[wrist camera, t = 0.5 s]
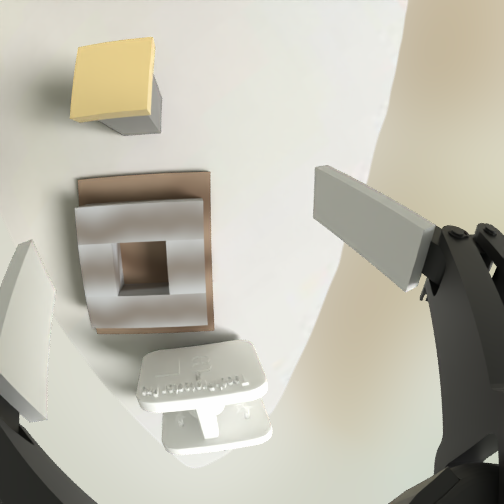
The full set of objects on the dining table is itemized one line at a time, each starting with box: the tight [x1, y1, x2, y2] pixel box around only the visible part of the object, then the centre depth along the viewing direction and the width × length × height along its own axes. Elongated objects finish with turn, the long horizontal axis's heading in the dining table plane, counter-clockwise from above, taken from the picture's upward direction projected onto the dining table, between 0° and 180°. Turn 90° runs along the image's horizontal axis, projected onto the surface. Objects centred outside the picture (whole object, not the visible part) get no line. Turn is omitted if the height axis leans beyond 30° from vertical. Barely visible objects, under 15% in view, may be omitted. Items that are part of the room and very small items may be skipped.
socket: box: [75, 172, 214, 334], centre depth 33 cm, size 20×16×5 cm
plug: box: [70, 37, 162, 136], centre depth 24 cm, size 6×6×16 cm
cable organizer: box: [136, 340, 272, 455], centre depth 35 cm, size 15×11×12 cm
